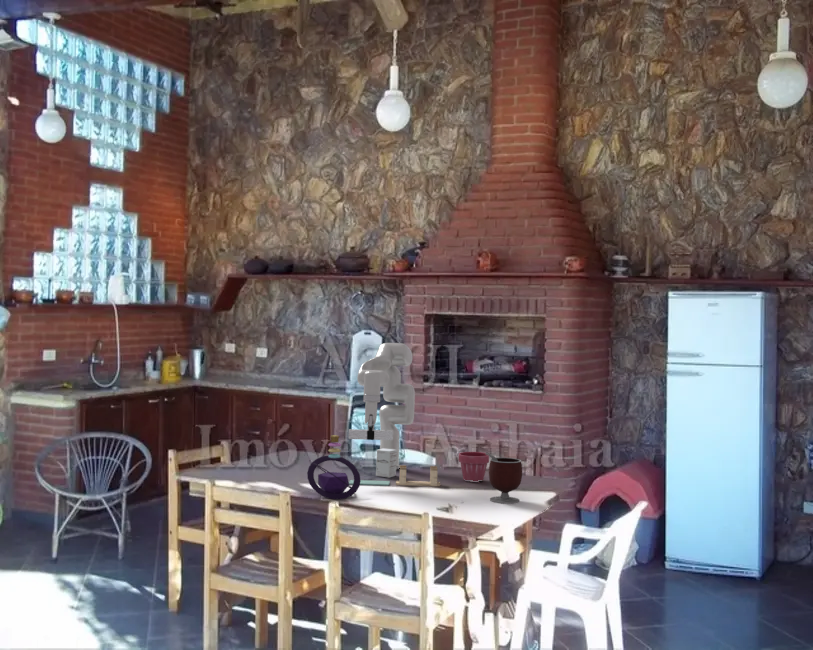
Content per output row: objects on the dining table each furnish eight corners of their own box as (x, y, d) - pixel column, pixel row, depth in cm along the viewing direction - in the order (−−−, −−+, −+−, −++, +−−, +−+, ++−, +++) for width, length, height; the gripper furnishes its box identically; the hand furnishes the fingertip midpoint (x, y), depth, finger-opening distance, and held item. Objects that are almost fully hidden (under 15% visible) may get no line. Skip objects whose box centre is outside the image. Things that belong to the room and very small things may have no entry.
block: (348, 439, 395) (348, 430, 395) (348, 437, 399) (349, 429, 399) (392, 440, 395) (392, 431, 395) (392, 439, 399) (393, 430, 399)
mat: (350, 481, 401) (350, 479, 401) (389, 482, 401) (389, 481, 401) (349, 484, 393) (349, 483, 393) (389, 485, 393) (389, 484, 393)
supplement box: (375, 476, 416) (376, 449, 416) (383, 474, 423) (383, 447, 423) (389, 478, 413) (389, 451, 413) (396, 475, 420) (397, 449, 419)
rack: (396, 482, 401) (396, 465, 401) (439, 483, 401) (440, 466, 401) (395, 485, 395) (396, 467, 395) (440, 486, 395) (440, 468, 395)
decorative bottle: (305, 499, 358) (307, 438, 358) (307, 489, 379) (309, 431, 379) (360, 500, 359) (362, 439, 359) (359, 490, 380) (361, 432, 380)
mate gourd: (518, 497, 374) (519, 450, 374) (523, 504, 360) (525, 455, 360) (482, 497, 374) (483, 450, 374) (486, 503, 360) (487, 455, 360)
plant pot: (458, 483, 404) (459, 455, 404) (457, 477, 418) (458, 451, 418) (489, 484, 404) (490, 456, 404) (487, 478, 418) (488, 452, 418)
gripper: (364, 396, 406) (363, 436, 406) (362, 400, 389) (361, 441, 389) (380, 397, 406) (379, 436, 406) (379, 400, 389) (378, 441, 389)
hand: (370, 438), depth 397 cm, fingers closed on block, 4 cm apart
